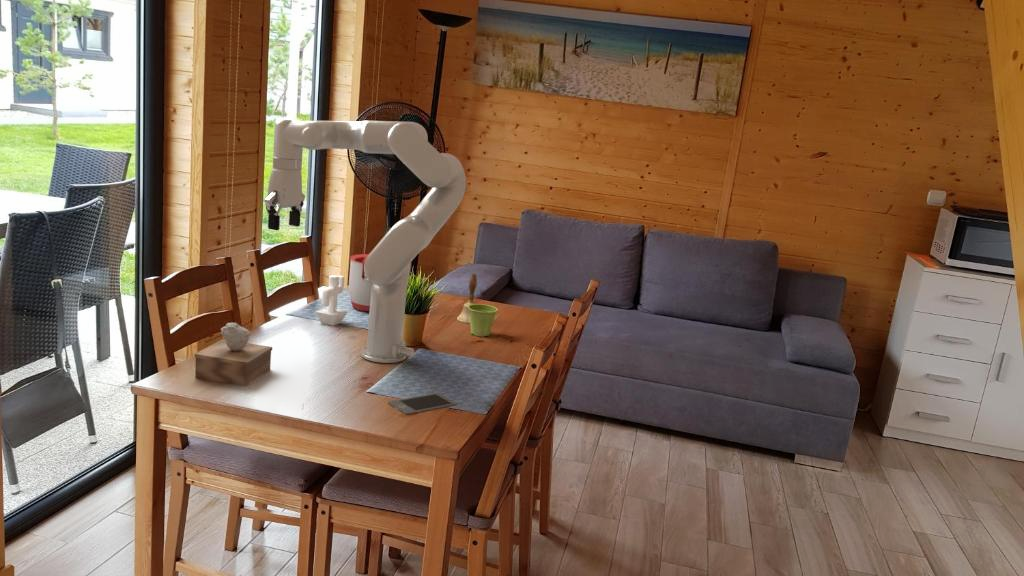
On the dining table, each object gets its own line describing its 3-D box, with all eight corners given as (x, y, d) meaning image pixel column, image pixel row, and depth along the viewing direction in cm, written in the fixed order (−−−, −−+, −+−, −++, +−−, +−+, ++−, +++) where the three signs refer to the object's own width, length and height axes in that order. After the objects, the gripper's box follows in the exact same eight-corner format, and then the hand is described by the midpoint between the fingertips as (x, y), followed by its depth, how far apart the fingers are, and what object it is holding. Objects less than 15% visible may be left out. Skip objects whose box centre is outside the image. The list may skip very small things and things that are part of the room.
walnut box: (271, 369, 207) (272, 347, 206) (246, 386, 194) (247, 362, 193) (221, 361, 209) (222, 339, 207) (193, 377, 196) (194, 353, 194)
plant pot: (494, 339, 255) (497, 313, 253) (464, 336, 255) (467, 309, 253) (495, 331, 264) (498, 306, 262) (466, 328, 264) (469, 302, 262)
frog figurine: (218, 347, 201) (219, 319, 199) (247, 346, 204) (248, 319, 203) (221, 355, 196) (222, 327, 194) (252, 353, 199) (253, 326, 197)
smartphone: (437, 394, 204) (437, 392, 204) (457, 406, 198) (457, 403, 198) (386, 404, 194) (386, 401, 194) (405, 416, 188) (406, 413, 188)
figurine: (312, 323, 250) (315, 276, 246) (329, 317, 258) (332, 271, 255) (332, 328, 247) (336, 280, 244) (349, 321, 256) (352, 275, 253)
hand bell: (454, 316, 277) (458, 270, 273) (477, 317, 279) (482, 271, 276) (459, 323, 269) (464, 276, 265) (484, 324, 272) (489, 277, 268)
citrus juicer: (343, 313, 265) (347, 253, 260) (348, 300, 282) (353, 243, 277) (391, 317, 267) (396, 257, 262) (394, 304, 283) (399, 247, 279)
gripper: (293, 162, 229) (290, 222, 232) (255, 164, 212) (253, 229, 216) (317, 165, 226) (313, 226, 230) (280, 168, 210) (277, 233, 214)
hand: (284, 227), depth 223 cm, fingers open, 9 cm apart
